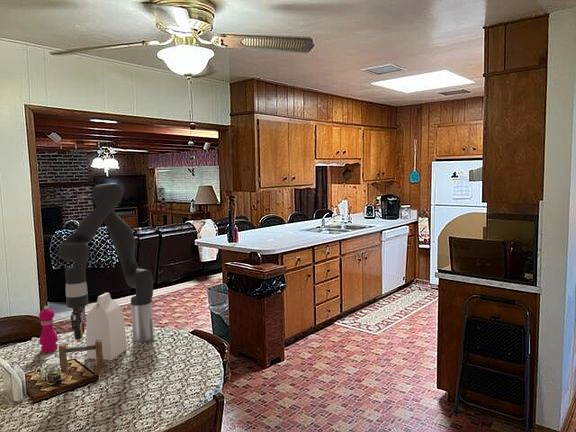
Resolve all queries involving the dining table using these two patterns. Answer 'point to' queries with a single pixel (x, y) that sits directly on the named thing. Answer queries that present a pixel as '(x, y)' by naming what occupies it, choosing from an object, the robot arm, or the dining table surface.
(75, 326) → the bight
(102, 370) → the hook frame
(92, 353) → the milk
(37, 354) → the dining table surface
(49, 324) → the pepper mill
